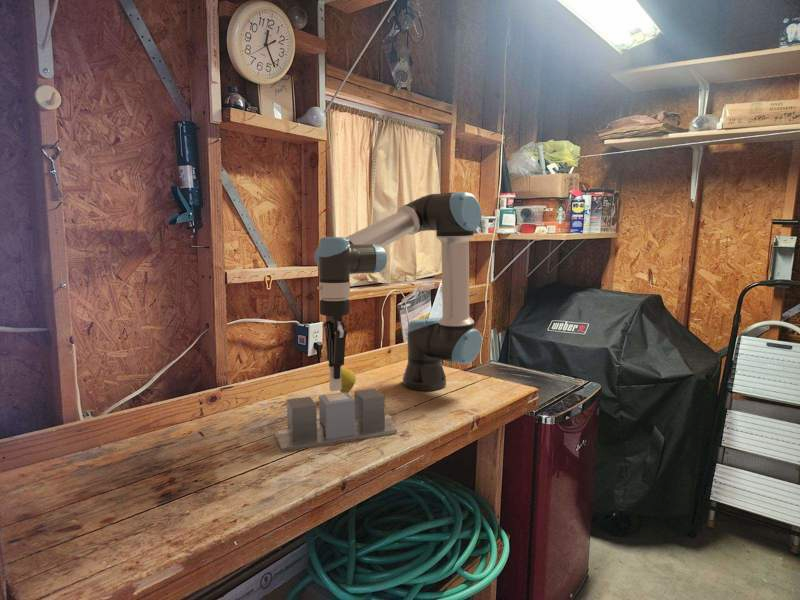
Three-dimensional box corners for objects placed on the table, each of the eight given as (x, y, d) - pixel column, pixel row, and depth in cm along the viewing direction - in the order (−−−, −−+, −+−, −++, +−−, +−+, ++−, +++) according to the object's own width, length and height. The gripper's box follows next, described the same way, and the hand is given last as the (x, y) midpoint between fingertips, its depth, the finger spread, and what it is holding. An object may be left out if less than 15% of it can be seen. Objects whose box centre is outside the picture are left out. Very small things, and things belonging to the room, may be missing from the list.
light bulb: (345, 404, 152) (345, 373, 151) (330, 400, 156) (329, 369, 155) (360, 399, 157) (360, 368, 156) (345, 394, 161) (344, 365, 160)
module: (346, 424, 134) (346, 391, 133) (355, 434, 127) (354, 399, 126) (319, 428, 131) (318, 394, 130) (326, 438, 124) (326, 403, 123)
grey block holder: (383, 420, 140) (383, 385, 138) (397, 433, 130) (397, 396, 129) (275, 436, 128) (273, 399, 127) (281, 452, 119) (280, 412, 118)
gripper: (313, 296, 129) (315, 384, 132) (326, 302, 117) (327, 399, 120) (341, 295, 132) (342, 381, 135) (356, 301, 120) (357, 395, 123)
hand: (335, 389), depth 127 cm, fingers closed
